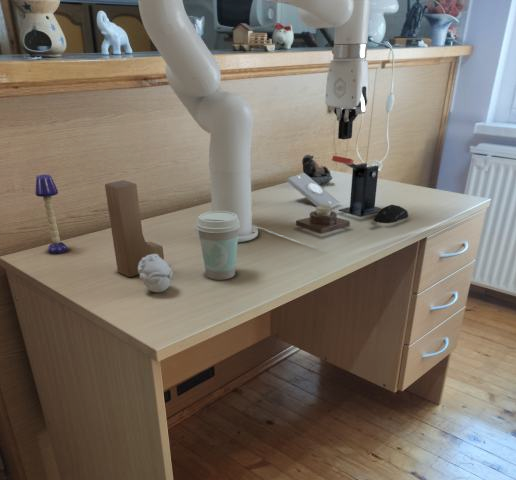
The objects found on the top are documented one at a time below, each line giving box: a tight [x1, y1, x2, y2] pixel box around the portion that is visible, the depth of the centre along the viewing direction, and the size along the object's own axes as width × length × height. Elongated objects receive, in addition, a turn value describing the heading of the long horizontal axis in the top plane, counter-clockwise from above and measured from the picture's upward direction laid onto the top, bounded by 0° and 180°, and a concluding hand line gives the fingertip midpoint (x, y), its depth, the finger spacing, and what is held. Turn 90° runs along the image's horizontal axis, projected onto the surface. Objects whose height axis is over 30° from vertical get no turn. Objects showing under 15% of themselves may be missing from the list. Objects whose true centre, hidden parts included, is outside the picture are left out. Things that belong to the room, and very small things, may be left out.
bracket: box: [338, 162, 383, 218], centre depth 142 cm, size 10×8×13 cm
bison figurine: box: [301, 154, 333, 186], centre depth 172 cm, size 12×7×10 cm, turn 130°
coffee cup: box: [195, 211, 240, 281], centre depth 105 cm, size 8×9×12 cm
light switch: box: [286, 172, 341, 207], centre depth 153 cm, size 8×6×14 cm
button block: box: [295, 210, 351, 235], centre depth 133 cm, size 10×9×4 cm
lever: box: [331, 155, 365, 178], centre depth 137 cm, size 12×6×2 cm, turn 128°
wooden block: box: [104, 180, 165, 278], centre depth 107 cm, size 9×4×18 cm, turn 135°
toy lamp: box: [34, 174, 69, 255], centre depth 118 cm, size 5×5×17 cm
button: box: [315, 205, 332, 216], centre depth 131 cm, size 4×4×2 cm
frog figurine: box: [138, 254, 174, 293], centre depth 100 cm, size 6×7×7 cm
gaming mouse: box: [373, 204, 409, 224], centre depth 138 cm, size 6×15×4 cm, turn 138°
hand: (344, 138), depth 131 cm, fingers closed
